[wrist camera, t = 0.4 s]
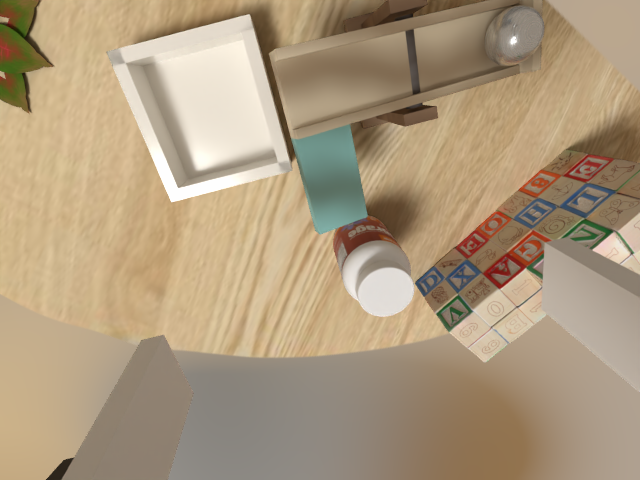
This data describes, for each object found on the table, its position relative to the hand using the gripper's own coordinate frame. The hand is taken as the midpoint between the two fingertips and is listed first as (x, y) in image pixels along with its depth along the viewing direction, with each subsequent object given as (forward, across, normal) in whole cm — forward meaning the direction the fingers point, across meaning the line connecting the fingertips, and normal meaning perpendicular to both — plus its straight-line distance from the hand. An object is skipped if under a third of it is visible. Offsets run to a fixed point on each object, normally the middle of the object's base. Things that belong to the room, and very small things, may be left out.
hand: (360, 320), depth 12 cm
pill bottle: (+25, +4, -9) cm, 27 cm away
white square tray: (+25, -7, +7) cm, 27 cm away
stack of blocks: (+25, +19, -12) cm, 34 cm away
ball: (+16, +16, +8) cm, 24 cm away
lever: (+17, +8, +4) cm, 20 cm away
